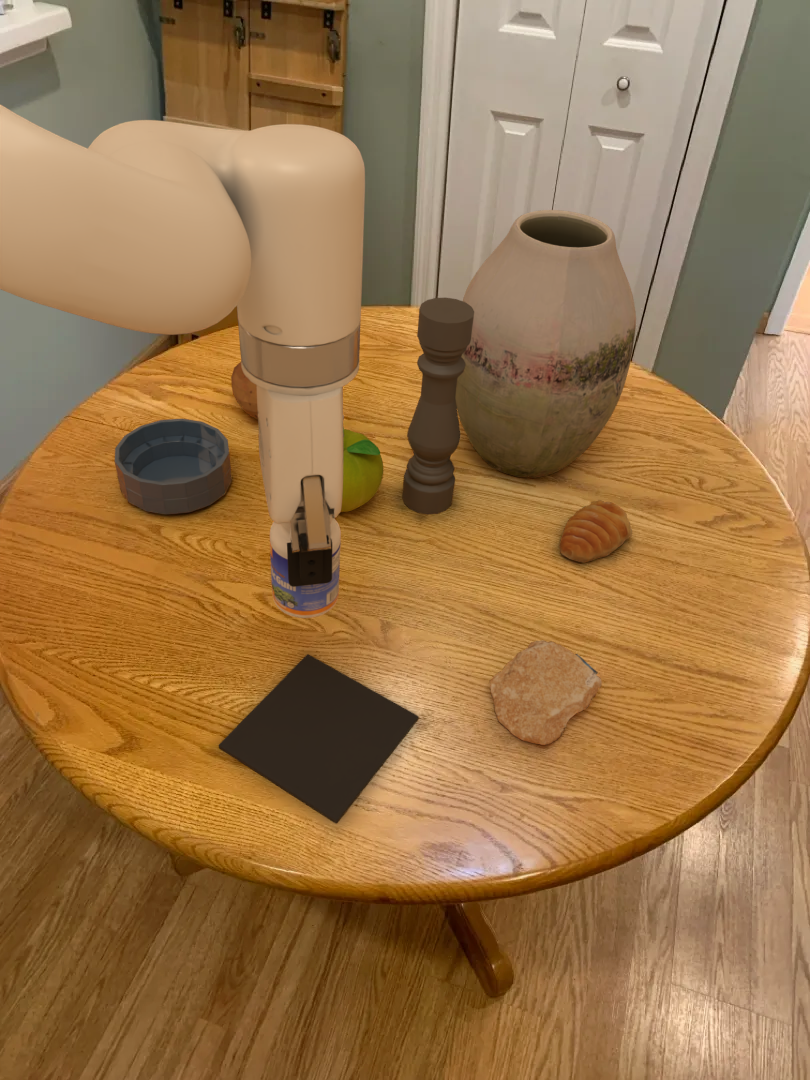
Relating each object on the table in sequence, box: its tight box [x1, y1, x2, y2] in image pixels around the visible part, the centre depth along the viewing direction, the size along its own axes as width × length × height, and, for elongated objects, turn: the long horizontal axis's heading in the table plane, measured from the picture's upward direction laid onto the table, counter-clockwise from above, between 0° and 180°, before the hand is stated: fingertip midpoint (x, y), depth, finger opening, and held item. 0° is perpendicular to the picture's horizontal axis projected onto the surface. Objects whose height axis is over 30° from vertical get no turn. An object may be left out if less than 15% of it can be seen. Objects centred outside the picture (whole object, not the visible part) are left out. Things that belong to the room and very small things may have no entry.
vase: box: [455, 209, 637, 479], centre depth 102 cm, size 21×21×30 cm
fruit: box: [340, 427, 384, 513], centre depth 99 cm, size 9×9×10 cm
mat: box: [218, 653, 419, 825], centre depth 77 cm, size 13×13×1 cm
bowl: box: [114, 418, 233, 515], centre depth 101 cm, size 13×13×5 cm
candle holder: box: [401, 297, 474, 515], centre depth 95 cm, size 6×6×25 cm
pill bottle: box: [269, 501, 342, 619], centre depth 65 cm, size 5×5×10 cm
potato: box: [230, 361, 258, 421], centre depth 112 cm, size 8×14×8 cm
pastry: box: [559, 499, 633, 563], centre depth 98 cm, size 9×7×4 cm
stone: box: [489, 639, 603, 746], centre depth 80 cm, size 8×10×4 cm
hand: (304, 552), depth 65 cm, fingers closed on pill bottle, 5 cm apart
